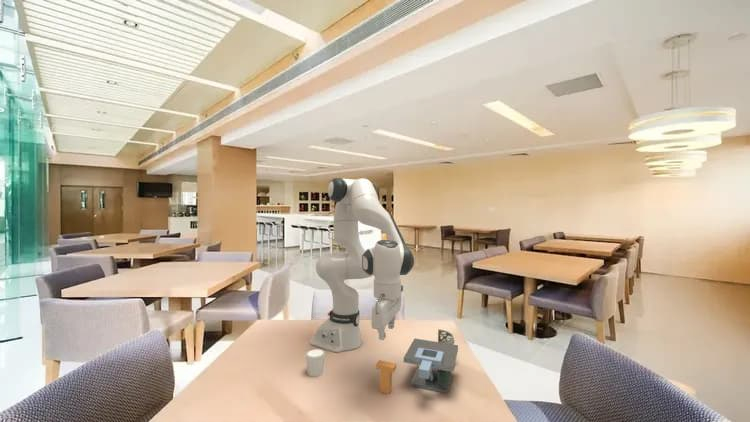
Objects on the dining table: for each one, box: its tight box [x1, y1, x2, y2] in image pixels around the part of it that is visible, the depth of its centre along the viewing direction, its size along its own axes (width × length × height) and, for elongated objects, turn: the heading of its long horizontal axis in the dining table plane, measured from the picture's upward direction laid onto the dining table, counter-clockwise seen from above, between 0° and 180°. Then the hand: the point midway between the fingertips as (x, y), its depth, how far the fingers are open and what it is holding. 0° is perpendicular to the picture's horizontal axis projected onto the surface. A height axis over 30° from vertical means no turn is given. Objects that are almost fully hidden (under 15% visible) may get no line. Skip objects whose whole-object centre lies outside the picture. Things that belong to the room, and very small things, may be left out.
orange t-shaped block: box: [375, 359, 397, 394], centre depth 100 cm, size 6×3×8 cm, turn 70°
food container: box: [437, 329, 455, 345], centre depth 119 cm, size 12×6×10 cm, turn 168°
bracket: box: [414, 348, 444, 379], centre depth 98 cm, size 8×13×3 cm, turn 160°
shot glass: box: [305, 348, 326, 377], centre depth 110 cm, size 7×7×7 cm
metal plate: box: [403, 338, 459, 395], centre depth 106 cm, size 16×16×10 cm
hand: (386, 333), depth 100 cm, fingers open, 8 cm apart
